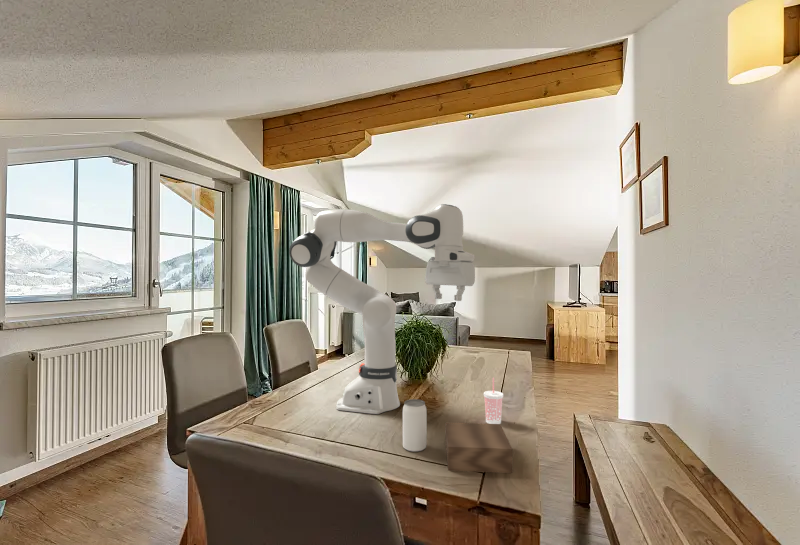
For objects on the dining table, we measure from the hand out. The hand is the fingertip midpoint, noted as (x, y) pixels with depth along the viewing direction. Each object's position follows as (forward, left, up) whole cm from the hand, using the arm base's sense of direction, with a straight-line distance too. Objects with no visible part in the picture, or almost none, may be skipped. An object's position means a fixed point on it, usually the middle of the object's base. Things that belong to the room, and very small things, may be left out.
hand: (447, 299), depth 121 cm
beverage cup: (+14, +2, -39) cm, 42 cm away
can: (-10, -18, -39) cm, 44 cm away
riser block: (+6, -22, -39) cm, 45 cm away
